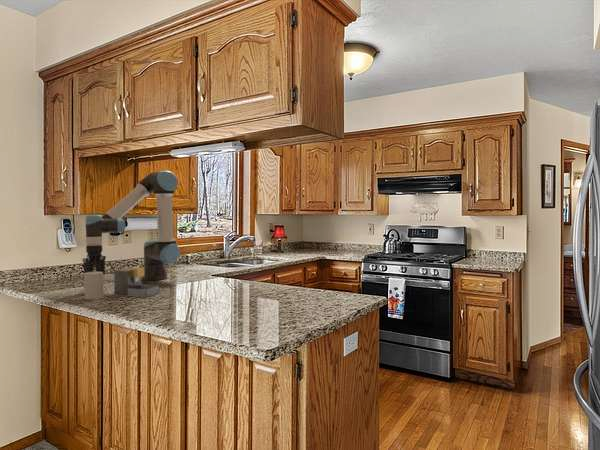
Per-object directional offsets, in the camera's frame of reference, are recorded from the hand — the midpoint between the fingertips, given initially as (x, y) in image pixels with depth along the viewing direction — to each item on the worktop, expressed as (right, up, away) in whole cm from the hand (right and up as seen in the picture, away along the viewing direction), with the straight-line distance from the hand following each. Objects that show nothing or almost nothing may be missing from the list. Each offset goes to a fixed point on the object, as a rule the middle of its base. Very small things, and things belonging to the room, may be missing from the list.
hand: (95, 289), depth 221 cm
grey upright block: (+8, -1, -17) cm, 19 cm away
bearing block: (+20, -1, -7) cm, 21 cm away
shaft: (+11, 0, -4) cm, 12 cm away
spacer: (+26, +8, -9) cm, 28 cm away
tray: (+29, -1, -10) cm, 30 cm away
